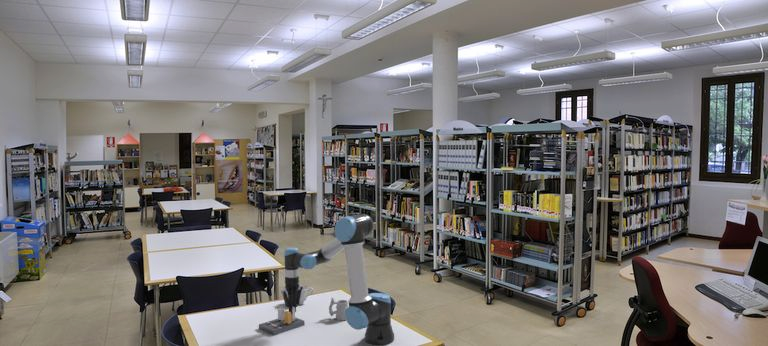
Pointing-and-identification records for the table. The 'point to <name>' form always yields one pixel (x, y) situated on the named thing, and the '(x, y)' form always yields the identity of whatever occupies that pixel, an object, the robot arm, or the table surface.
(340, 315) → the mug
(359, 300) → the robot arm
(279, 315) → the fader white
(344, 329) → the table surface
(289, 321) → the fader orange
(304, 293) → the teacup
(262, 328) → the console
